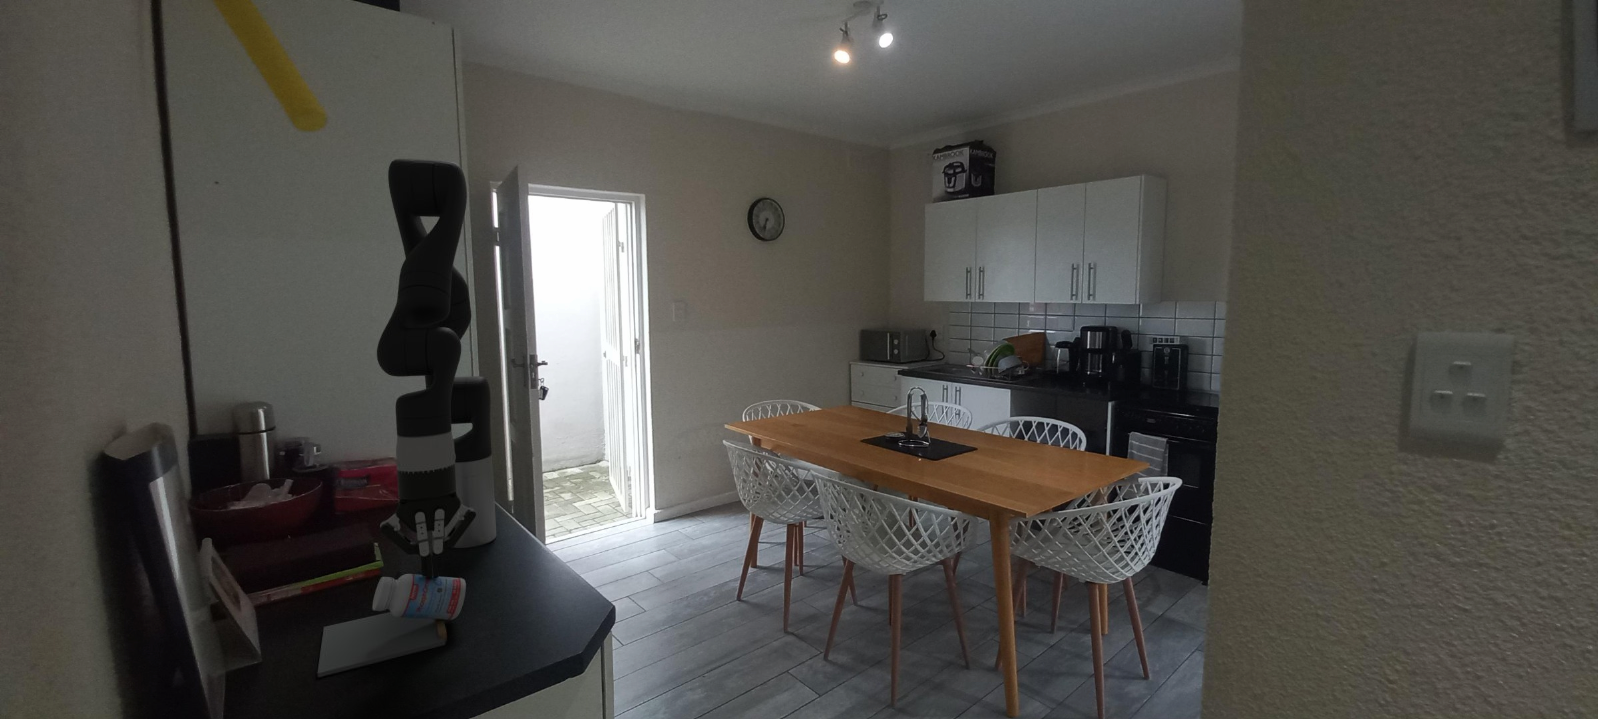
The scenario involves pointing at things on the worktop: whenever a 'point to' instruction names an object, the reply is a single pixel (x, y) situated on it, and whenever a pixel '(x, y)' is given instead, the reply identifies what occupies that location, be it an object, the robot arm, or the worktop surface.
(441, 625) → the bar
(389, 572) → the worktop surface
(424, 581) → the pill bottle
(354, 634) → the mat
